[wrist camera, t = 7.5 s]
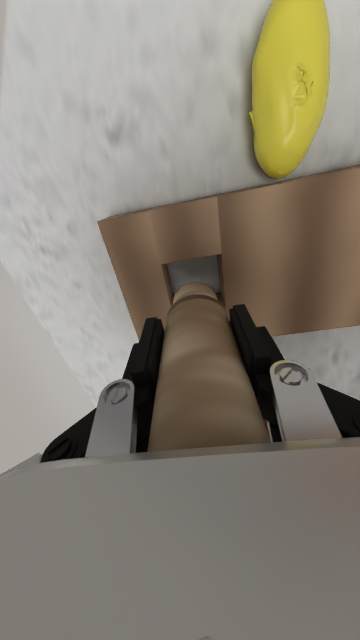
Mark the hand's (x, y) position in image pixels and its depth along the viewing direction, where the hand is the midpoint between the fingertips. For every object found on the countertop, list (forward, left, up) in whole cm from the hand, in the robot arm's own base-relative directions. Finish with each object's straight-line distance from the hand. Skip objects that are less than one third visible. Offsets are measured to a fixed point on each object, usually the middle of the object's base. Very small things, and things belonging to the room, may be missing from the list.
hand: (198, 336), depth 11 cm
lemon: (-7, -10, -10) cm, 16 cm away
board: (-5, 0, -10) cm, 11 cm away
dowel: (0, 0, -4) cm, 4 cm away
